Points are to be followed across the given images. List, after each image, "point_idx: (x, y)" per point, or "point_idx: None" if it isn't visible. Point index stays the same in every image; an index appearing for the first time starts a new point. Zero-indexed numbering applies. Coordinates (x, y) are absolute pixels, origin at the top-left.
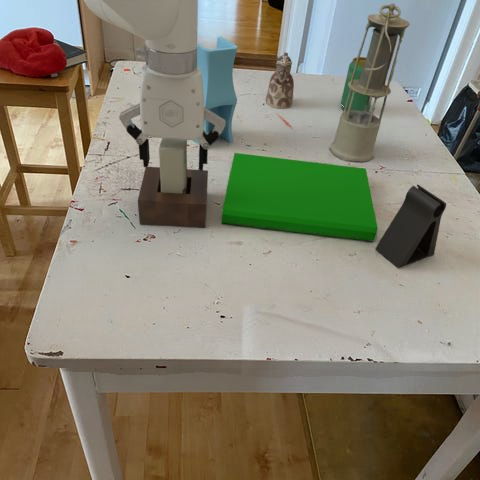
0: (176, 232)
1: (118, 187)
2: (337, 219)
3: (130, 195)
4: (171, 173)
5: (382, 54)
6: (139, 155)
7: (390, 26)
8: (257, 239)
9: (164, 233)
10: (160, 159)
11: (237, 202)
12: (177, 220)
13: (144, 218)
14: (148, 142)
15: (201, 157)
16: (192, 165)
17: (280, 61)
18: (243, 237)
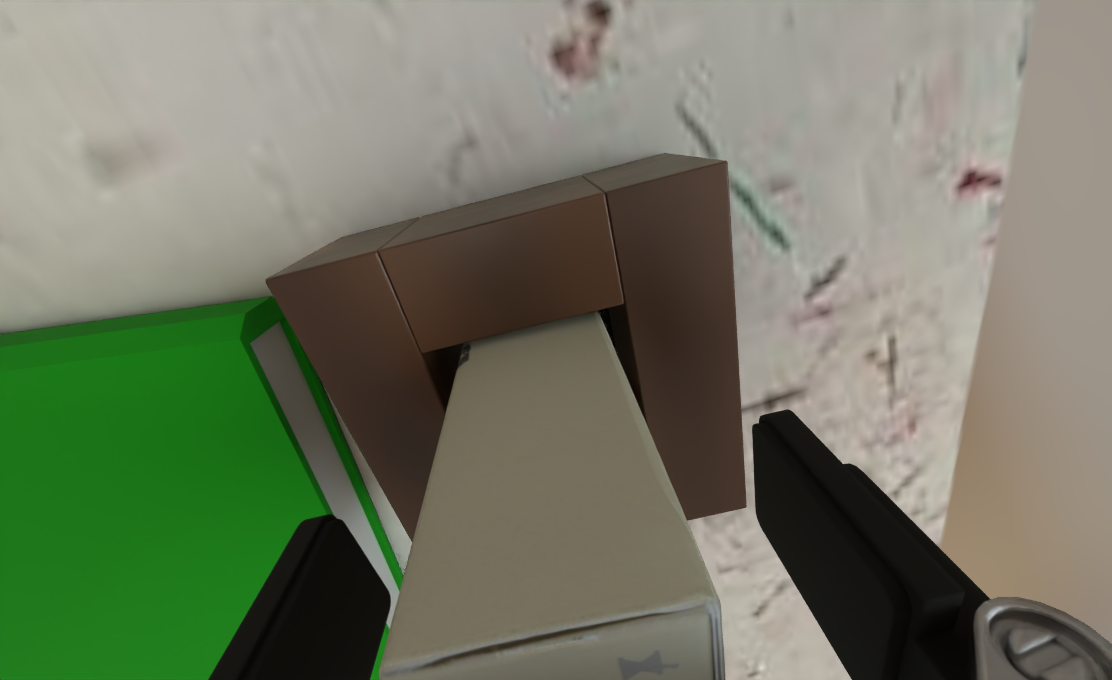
0: (462, 148)
1: (818, 399)
2: None
3: (758, 365)
4: (538, 413)
5: None
6: (879, 490)
7: None
8: (45, 232)
9: (518, 115)
10: (660, 485)
11: (204, 420)
12: (472, 207)
13: (649, 162)
14: (849, 663)
15: (246, 637)
16: None
17: None
18: (121, 225)
